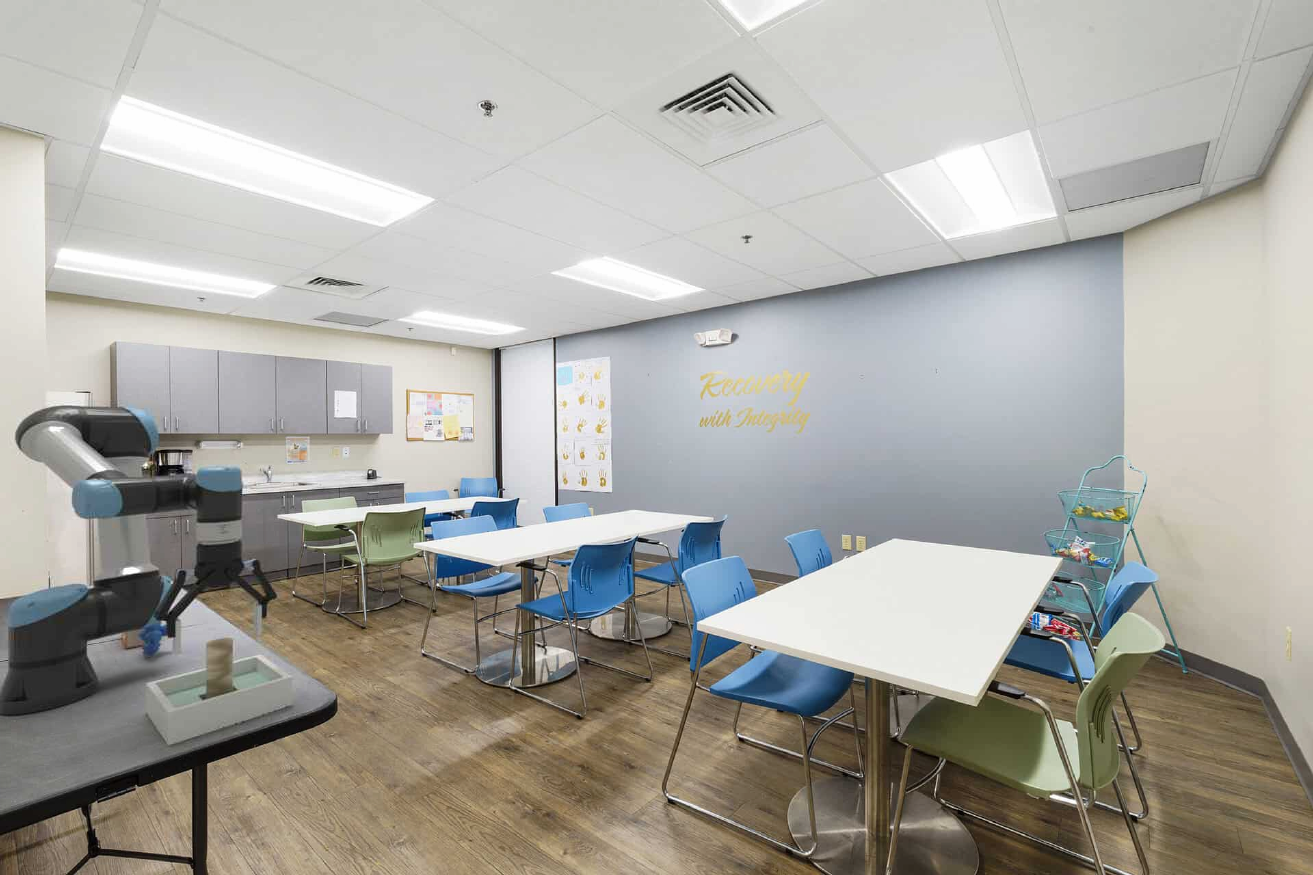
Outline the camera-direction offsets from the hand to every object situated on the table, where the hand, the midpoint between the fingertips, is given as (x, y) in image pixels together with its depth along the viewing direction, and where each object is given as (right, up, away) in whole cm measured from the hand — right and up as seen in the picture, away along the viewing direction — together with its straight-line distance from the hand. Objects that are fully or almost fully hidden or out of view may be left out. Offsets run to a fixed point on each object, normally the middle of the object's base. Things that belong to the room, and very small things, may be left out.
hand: (218, 643), depth 118 cm
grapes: (-40, -14, +30) cm, 52 cm away
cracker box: (-54, -14, +41) cm, 69 cm away
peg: (0, -14, 0) cm, 14 cm away
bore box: (0, -14, 0) cm, 14 cm away
